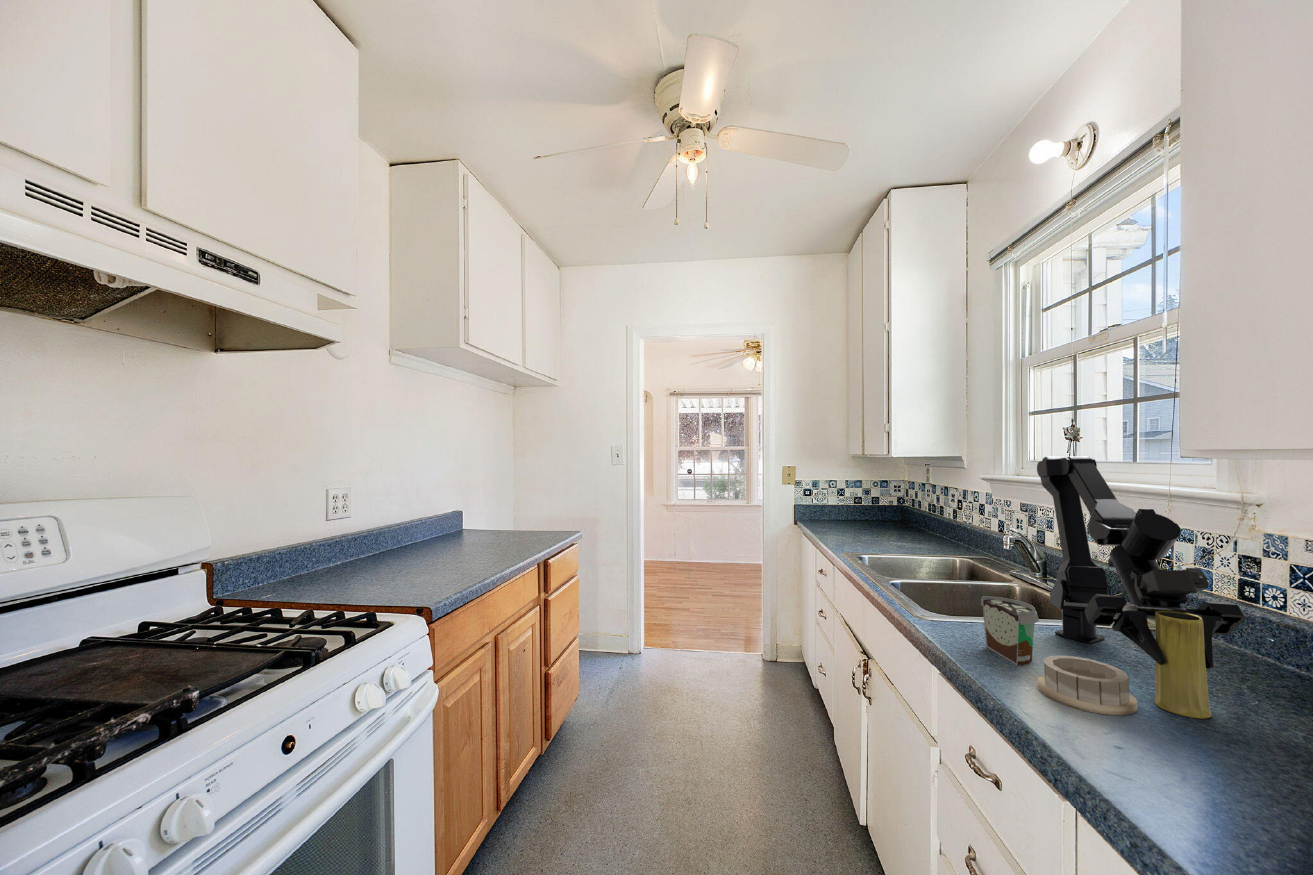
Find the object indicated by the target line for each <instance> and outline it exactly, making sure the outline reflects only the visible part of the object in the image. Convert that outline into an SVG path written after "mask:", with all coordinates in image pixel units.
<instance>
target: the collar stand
mask: <svg viewBox="0 0 1313 875" xmlns="http://www.w3.org/2000/svg"><path fill="white" fill-rule="evenodd" d="M1043 673H1044V674H1043V675H1040V676H1039V677H1038V678H1037V688H1038V690H1039V692H1040V693H1041V694H1043V695H1044V696H1045V697H1047V698H1049V699H1051V700H1053V701H1055V702H1057V703H1059V704H1061V705H1065V706H1067V707H1070V708H1074V709H1077V710H1081V711H1085V712H1088V711H1089V713H1094V714H1098V713H1099V714H1100V715H1107V716H1128V715H1132V714H1135V713H1137V711H1138V701H1137V698H1136V697H1135V696H1134V695H1133V694H1131V693H1130V681H1129V680H1130V678H1129V676H1128V675H1127V673H1126V672H1125V671H1123V670H1122V669H1119V668H1117V667H1116V666H1114V665H1111V664H1108V663H1105V662H1103V661H1097V660H1095V659H1090V658H1086V657H1081V656H1072V655H1049V656H1048V657H1047V656H1046V657H1044V658H1043Z"/></svg>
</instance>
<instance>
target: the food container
mask: <svg viewBox="0 0 1313 875" xmlns="http://www.w3.org/2000/svg"><path fill="white" fill-rule="evenodd" d="M980 600H981V601H980V606H982V613H983V622H984V635H985V637H984V638H985V646H986V648H987V649H989V650H991V651H993V652H994V653H996V654H997V655H999V656H1001V657H1002V658H1004V659H1006V660H1008V661H1010V662H1011V663H1012V664H1014V665H1016V666H1026V665H1030V664H1031V663H1033V650H1034V649H1033V648H1034V637H1035V636H1034V633H1035V624H1036V623H1038V622H1039V621H1040V620H1039V619H1040V618H1039V616H1038V612H1037V610H1036V608H1035V606H1033V605H1032V604H1030V603H1028V602H1025V601H1021V600H1017V599H1012V598H1007V597H1002V596H1001V597H1000V596H989V595H988V596H987V595H982V596H981V599H980Z"/></svg>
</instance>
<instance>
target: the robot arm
mask: <svg viewBox="0 0 1313 875" xmlns="http://www.w3.org/2000/svg"><path fill="white" fill-rule="evenodd" d="M1036 472H1037V476H1038V477H1040V482H1041V486H1042V487H1043V488H1044V489H1045V490H1046V491H1047V493H1049V494H1050V496H1052V499H1053V504H1054V510H1055V512H1054V513H1055V518H1056V524H1057V529H1058V535H1059V541H1060V548H1061V552H1062V554H1061V555H1062V559H1063V562H1062V563H1061V565H1060V567H1059V568H1058V570H1057V572H1056V581H1055V583H1054V585H1053V586H1052V588H1051V591H1050V592H1049V597H1050V603H1051V605H1054V606H1055V607H1056V608H1058V609H1061V619H1062V620H1061V622H1062V629H1060V630H1056V631H1055V632H1054V634H1055V635H1058V636H1060V637H1064V638H1068V639H1072V640H1076V641H1079V642H1083V643H1087V644H1092V643H1095V642H1098V641H1102V640H1105V639H1106V635H1102V634H1098V631H1097V630H1098V629H1097V626H1099V627H1100V626H1102V627H1111V629H1112V630H1113V631H1114V632H1118V633H1121V634H1122V635H1123V636H1125V637H1126V638H1127V639H1128V640H1130V641H1131V642H1133V643H1134V644H1135V645H1137V647H1139V648H1140V649H1141V650H1142V651H1144V652H1145V653H1146V655H1148V656H1149V657H1150V658H1151V659H1153V660H1154V661H1155V663H1156V662H1157V663H1158V664H1160V665H1163V664H1164V663H1165V659H1164V657H1163V654H1162V652H1161V650H1160V648H1159V646H1158V644H1157V642H1156V637H1155V636H1154V635H1153V632H1152V631H1151V628H1150V627H1149V622H1148V620H1156V619H1155V612H1156V611H1161V610H1168V611H1178V612H1184V613H1189V614H1193V615H1196V616H1199V617H1201V618H1202V619H1203V627H1204V644H1205V662H1206V670H1212V669H1213V668H1214V667H1215V666H1214V652H1213V635H1215V636H1227V635H1228V636H1229V635H1232V633H1234V632H1235V630H1237V628H1238V627H1240V626H1241V624H1243V622H1245V621H1246V620H1247V619H1248V617H1247V615H1246V614H1245V613H1244V611H1243V609H1242V608H1241V606H1239V605H1238V604H1237V603H1233V602H1229V601H1227V602H1226V601H1215V600H1214V601H1213V600H1212V601H1210V600H1204V601H1203V602H1201V603H1200V605H1199V606H1198V607H1197V608H1196V609H1195V608H1185V607H1182V606H1181V604H1186V603H1187V602H1188V600H1189V598H1188V597H1187V596H1188V595H1190V594H1197V593H1198V592H1199V591H1200V592H1201V591H1204V590H1207V589H1209V587H1210V583H1209V580H1208V578H1207V576H1206V574H1205V573H1204V572H1203V570H1202V569H1201V568H1200V567H1199V568H1198V567H1197V568H1196V567H1186V568H1185V569H1180V570H1178V569H1177V570H1176V569H1172V570H1171V569H1162V568H1161V567H1160V565H1159V563H1158V560H1161V559H1163V558H1165V557H1166V555H1167V554H1168V552H1169V551H1170V550H1171V548H1172V547H1173V545H1175V543H1176V541H1177V540H1178V539H1179V537H1180V536H1181V533H1182V530H1181V528H1180V525H1179V524H1178V523H1176V522H1175V521H1173V520H1172V519H1170V518H1169V517H1166V516H1164V515H1162V514H1158V513H1156V511H1155V509H1153V508H1138V509H1137V512H1136V511H1135V509H1133V508H1131V507H1129V506H1127V505H1124V504H1123V503H1121V502H1120V501H1119V500H1118V499H1117V497H1116V496H1115V494H1114V493H1113V491H1112V489H1111V488H1110V486H1109V485H1108V483H1107V482H1106V480H1105V479H1104V476H1102V474H1101V472H1100V471H1099V470H1098V465H1097V461H1096V459H1095V458H1094V457H1091V456H1085V455H1084V456H1044V457H1043V458H1042V460H1040V461H1038V462H1037V464H1036ZM1081 500H1082V501H1081ZM1082 502H1083V504H1084V505H1085V507H1086V509H1087V511H1088V512H1089V516H1090V518H1089V520H1088V522H1087V527H1088V532H1089V535H1090V537H1091V539H1092V540H1093V541H1094V542H1095V544H1097V545H1098V546H1099V545H1100V546H1105V547H1106V546H1108V547H1109V546H1110V547H1113V548H1112V550H1110V552H1109V558H1108V560H1107V566H1108V567H1109V568H1110V567H1111V568H1115V570H1116V573H1117V575H1118V578H1119V579H1120V581H1121V584H1122V586H1121V588H1120V591H1121V593H1122V595H1127V597H1128V599H1129V601H1126V599H1125V597H1124V596H1122V595H1116V594H1115V595H1114V594H1112V590H1111V587H1110V586H1109V584H1108V581H1107V576H1106V571H1105V569H1104V568H1103V567H1100V566H1099V567H1098V565H1096V563H1095V562H1094V561H1093V560H1092V557H1091V556H1092V555H1091V550H1090V544H1089V540H1088V539H1089V538H1088V534H1087V529H1086V522H1085V518H1084V513H1083V512H1084V510H1083V507H1082Z"/></svg>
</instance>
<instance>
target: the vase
mask: <svg viewBox="0 0 1313 875" xmlns="http://www.w3.org/2000/svg"><path fill="white" fill-rule="evenodd" d="M1154 620H1155V640H1156V642H1157V644H1158V646H1159V648H1160V650H1161V652H1162V654H1163V657H1164V659H1165V663H1164V664H1163V665H1160V664H1158V663H1157V662H1156V661H1155V672H1154V673H1155V681H1154V682H1155V683H1154V684H1155V685H1154V686H1155V698H1154V703H1155V705H1156V706H1157V707H1158V708H1160V709H1162V710H1164V711H1166V712H1169V713H1171V714H1175V715H1178V716H1182V717H1185V718H1191V719H1197V720H1198V719H1200V720H1201V719H1202V720H1203V719H1204V720H1205V719H1209V718H1211V717H1212V711H1211V708H1210V700H1209V687H1208V676H1207V668H1206V662H1205V644H1204V627H1203V619H1202V618H1201V617H1199V616H1196V615H1193V614H1189V613H1184V612H1178V611H1168V610H1161V611H1156V612H1155V619H1154Z"/></svg>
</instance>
